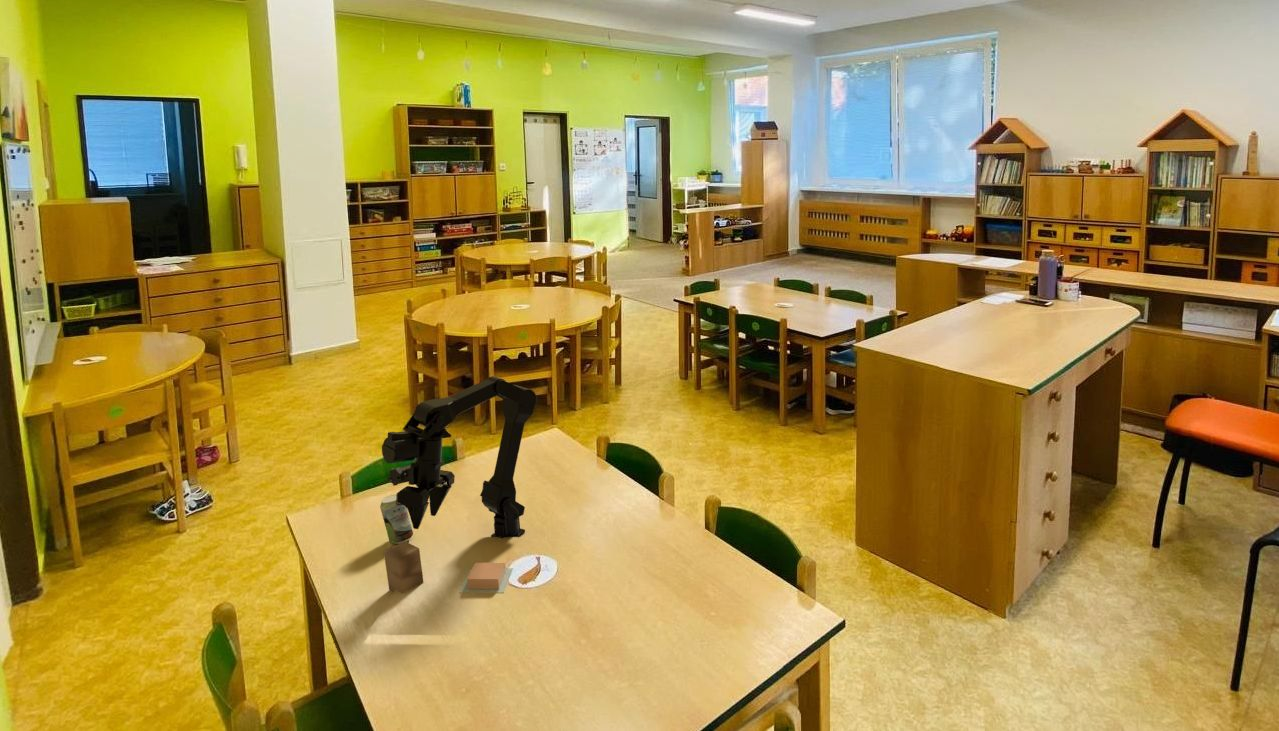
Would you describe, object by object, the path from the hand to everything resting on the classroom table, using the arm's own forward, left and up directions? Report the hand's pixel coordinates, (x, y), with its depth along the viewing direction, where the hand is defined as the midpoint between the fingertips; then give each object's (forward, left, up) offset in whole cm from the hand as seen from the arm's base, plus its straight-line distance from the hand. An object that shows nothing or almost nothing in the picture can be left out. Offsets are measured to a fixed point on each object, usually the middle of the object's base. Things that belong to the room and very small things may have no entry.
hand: (424, 522), depth 178 cm
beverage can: (-8, -18, -13) cm, 23 cm away
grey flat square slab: (-1, +16, -14) cm, 21 cm away
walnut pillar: (+8, 0, -13) cm, 15 cm away
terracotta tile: (-1, +17, -11) cm, 20 cm away
